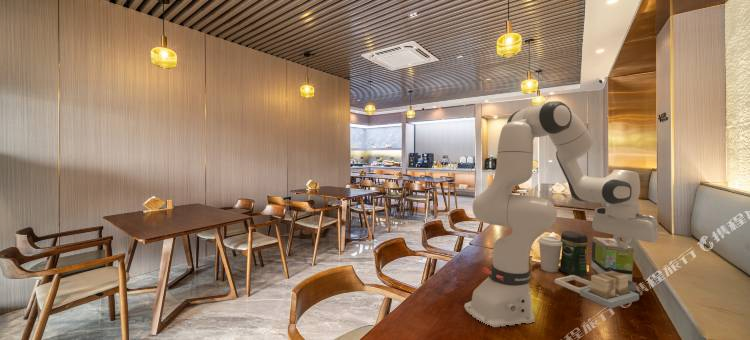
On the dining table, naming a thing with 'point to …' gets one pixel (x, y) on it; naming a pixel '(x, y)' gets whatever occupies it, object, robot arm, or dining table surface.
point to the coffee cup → (550, 253)
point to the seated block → (603, 286)
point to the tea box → (611, 257)
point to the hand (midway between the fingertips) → (622, 247)
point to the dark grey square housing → (631, 286)
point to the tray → (563, 283)
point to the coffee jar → (574, 253)
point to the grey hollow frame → (613, 301)
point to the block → (619, 282)
